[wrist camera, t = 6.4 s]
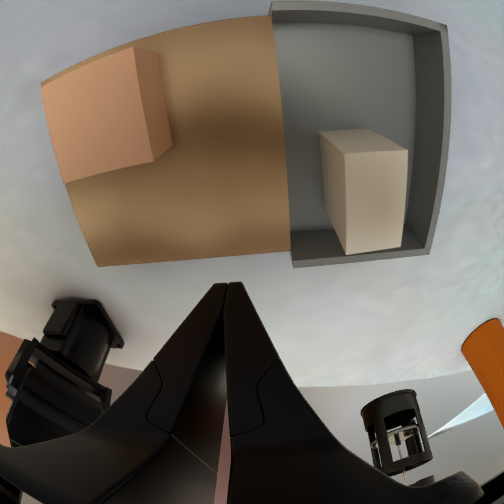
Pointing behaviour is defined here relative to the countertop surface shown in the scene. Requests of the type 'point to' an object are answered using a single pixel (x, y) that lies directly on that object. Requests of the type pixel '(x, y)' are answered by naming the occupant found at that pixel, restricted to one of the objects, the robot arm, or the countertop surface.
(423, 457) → the french press
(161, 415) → the robot arm
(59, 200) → the countertop surface
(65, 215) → the countertop surface
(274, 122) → the oak board
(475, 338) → the spray bottle
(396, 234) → the cream rectangular block
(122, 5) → the countertop surface
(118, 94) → the tan cardboard box
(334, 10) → the tray
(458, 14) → the countertop surface
